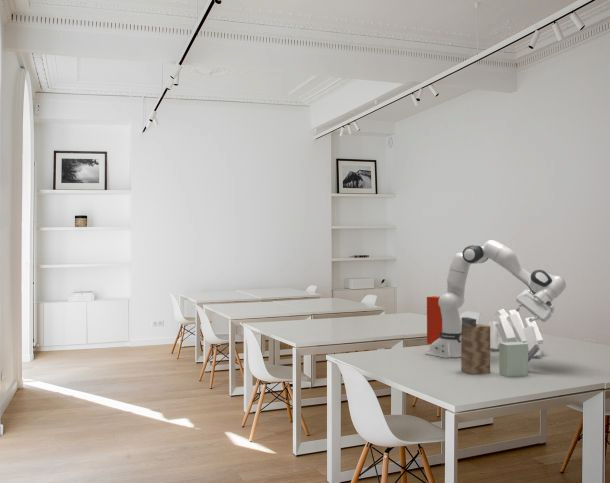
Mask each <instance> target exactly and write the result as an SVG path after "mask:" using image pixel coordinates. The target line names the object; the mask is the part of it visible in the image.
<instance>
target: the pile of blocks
mask: <svg viewBox="0 0 610 483" xmlns="http://www.w3.org/2000/svg"><path fill="white" fill-rule="evenodd" d="M519 312H520V311H519ZM519 312H517V311H516V310H515V309H510V310H509V311H508V312H507V311H506V310H505V309H504V308H501V309H499V310H497V311H496V313H495V314H494V315H495V316H496V318H498V321H499V322H498V321H495V320H492V321H490V322H488V326H490V351H496V350H499V336H500V338H501V340H502V343H506V342H522V343H526V344H528V352H529V351H530V350H531V349H532V348H533V347H534V345H535V344H537V345H538V346H539V345H542V344H543V343H544V339H543V336H542V333H541V332H540V329H539V326H538V324H537V322H536V321H537V320H535V321H533V322H530V321H529V319H530V318H535V316H531V317H529V316H528V317H524V318H525V320H524V322H525V325H526V327H525V326H524V322H523V320H522V317H521V315H520V313H519ZM539 347H540V346H539ZM540 356H542V352H541V349H539V350H538V352H537V353H536V354H535V355H534V356H533V357H532V358H535V357H540Z"/></svg>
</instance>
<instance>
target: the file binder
mask: <svg viewBox="0 0 610 483" xmlns="http://www.w3.org/2000/svg"><path fill="white" fill-rule="evenodd" d="M440 297H441V296H436V295H432V296H426V344H428V345H431V344H432V343H433V342H434V341H436V340H437V339H438V338H440V335H439V333H441V332H442V315H441V309H440V306H439V304H438V301H439V298H440Z"/></svg>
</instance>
